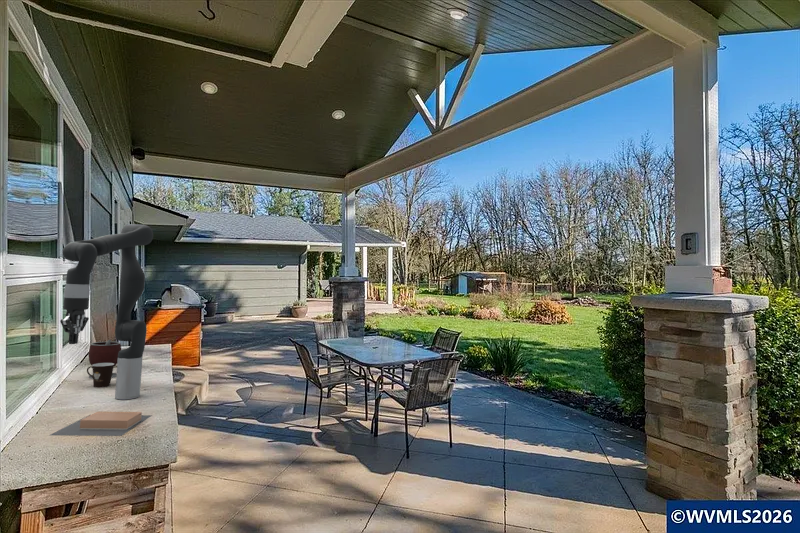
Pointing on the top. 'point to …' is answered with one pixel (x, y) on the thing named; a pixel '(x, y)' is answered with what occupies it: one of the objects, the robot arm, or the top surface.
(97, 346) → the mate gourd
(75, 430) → the mat
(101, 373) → the coffee mug
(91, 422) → the tile
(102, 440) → the top surface
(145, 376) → the top surface
